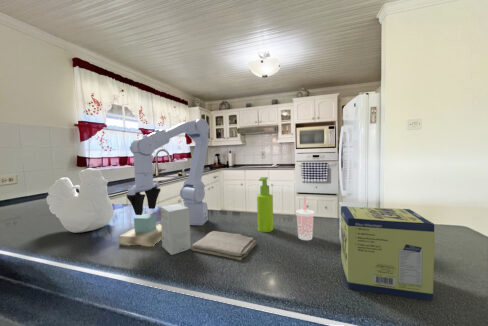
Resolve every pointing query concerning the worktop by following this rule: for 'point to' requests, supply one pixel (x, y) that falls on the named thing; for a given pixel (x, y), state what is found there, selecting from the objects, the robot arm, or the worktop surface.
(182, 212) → the small box
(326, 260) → the worktop surface
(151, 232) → the birch plinth
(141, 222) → the teal block
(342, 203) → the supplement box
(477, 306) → the worktop surface
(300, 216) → the beverage cup
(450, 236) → the worktop surface
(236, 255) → the washcloth
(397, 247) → the protein box
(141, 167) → the robot arm
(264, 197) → the soap dispenser
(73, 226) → the decorative rooster
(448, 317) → the worktop surface
